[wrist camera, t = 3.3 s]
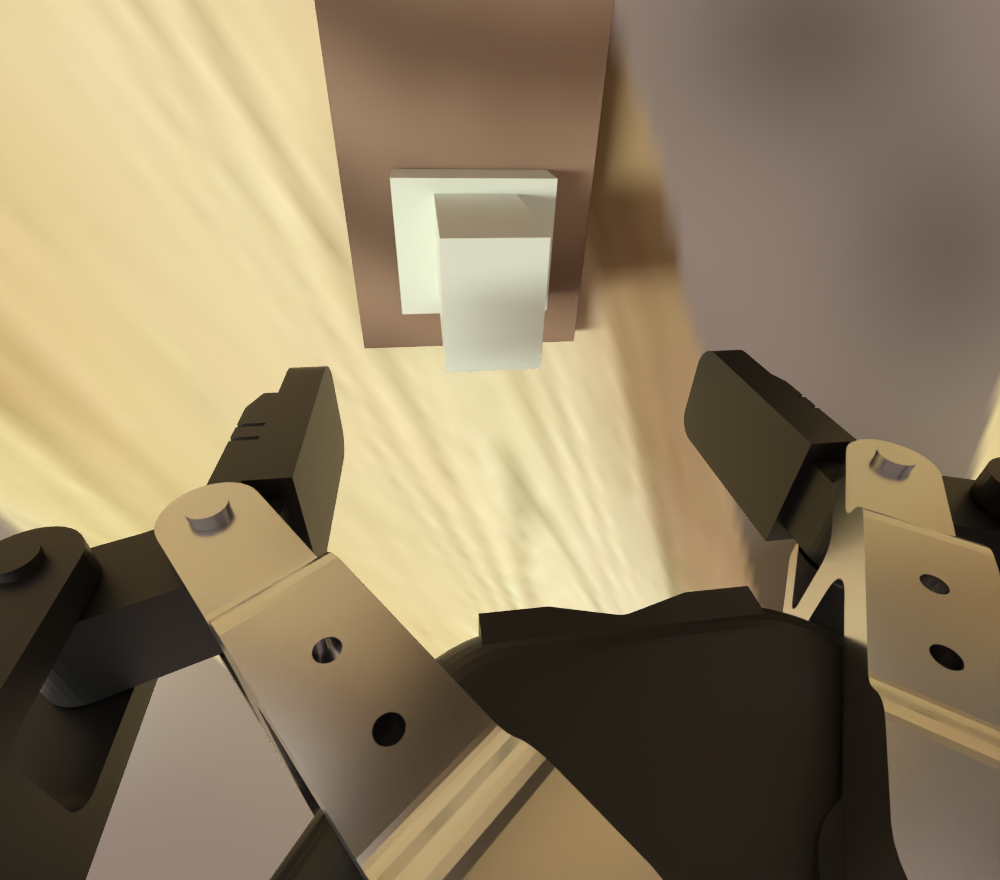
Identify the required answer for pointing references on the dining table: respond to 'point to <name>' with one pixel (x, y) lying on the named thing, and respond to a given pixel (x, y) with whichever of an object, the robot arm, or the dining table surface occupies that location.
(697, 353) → the dining table surface
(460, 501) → the dining table surface
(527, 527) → the dining table surface
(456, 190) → the block
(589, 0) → the rail
